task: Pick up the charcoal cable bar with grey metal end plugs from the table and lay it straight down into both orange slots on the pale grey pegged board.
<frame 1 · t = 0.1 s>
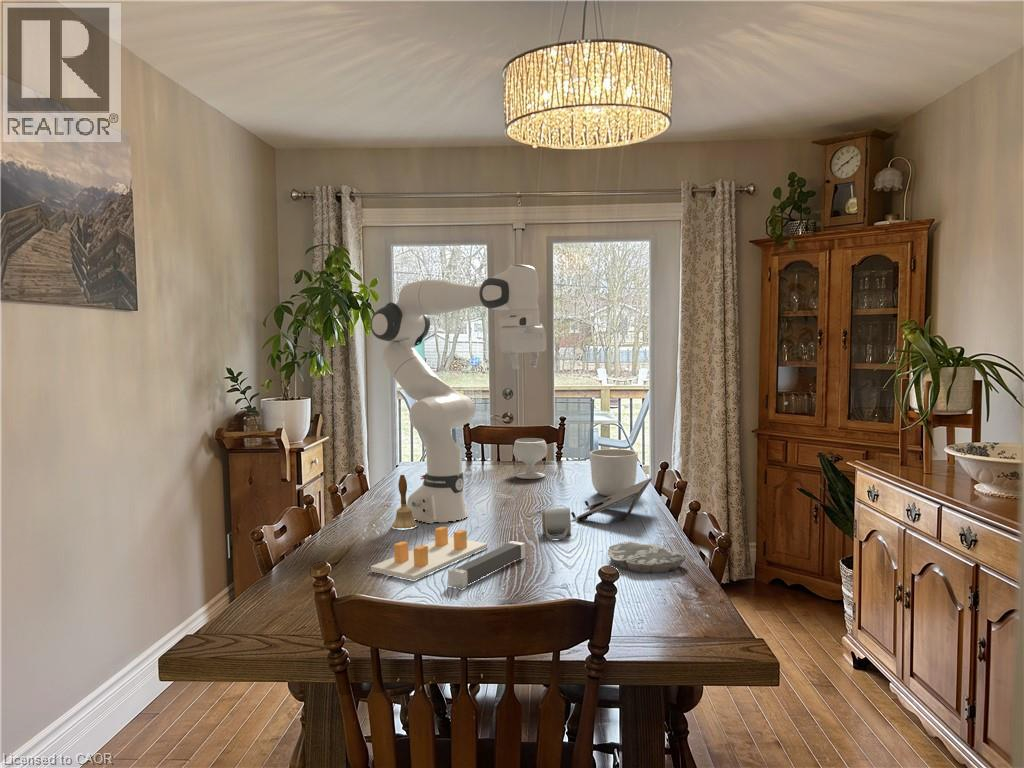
hand: (524, 368, 207), 48 cm above the table, tool pointing down, fingers open, 8 cm apart
portable electronic device stand: (611, 517, 225), on the table
ceramic mug: (557, 536, 205), on the table
pegged board: (432, 560, 184), on the table
hand bell: (404, 527, 217), on the table
brain slice: (642, 566, 178), on the table
planter: (613, 495, 255), on the table
cable bar: (489, 571, 174), on the table
chalice: (530, 477, 290), on the table
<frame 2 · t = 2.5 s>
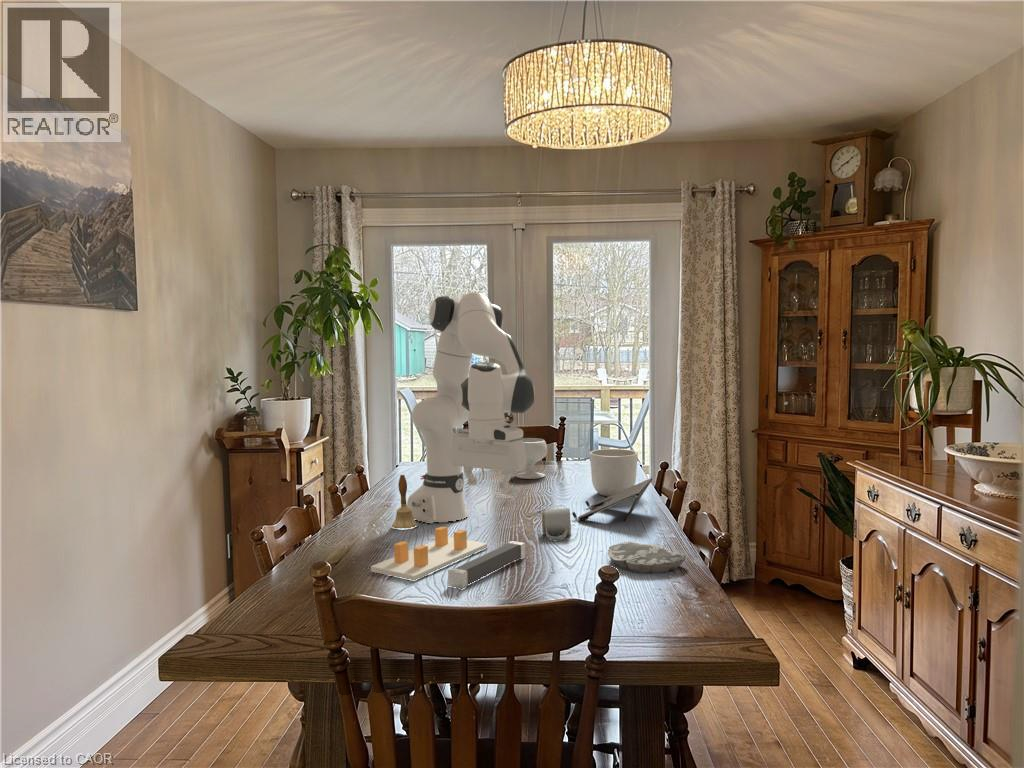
hand: (488, 486, 173), 21 cm above the table, tool pointing down, fingers open, 8 cm apart
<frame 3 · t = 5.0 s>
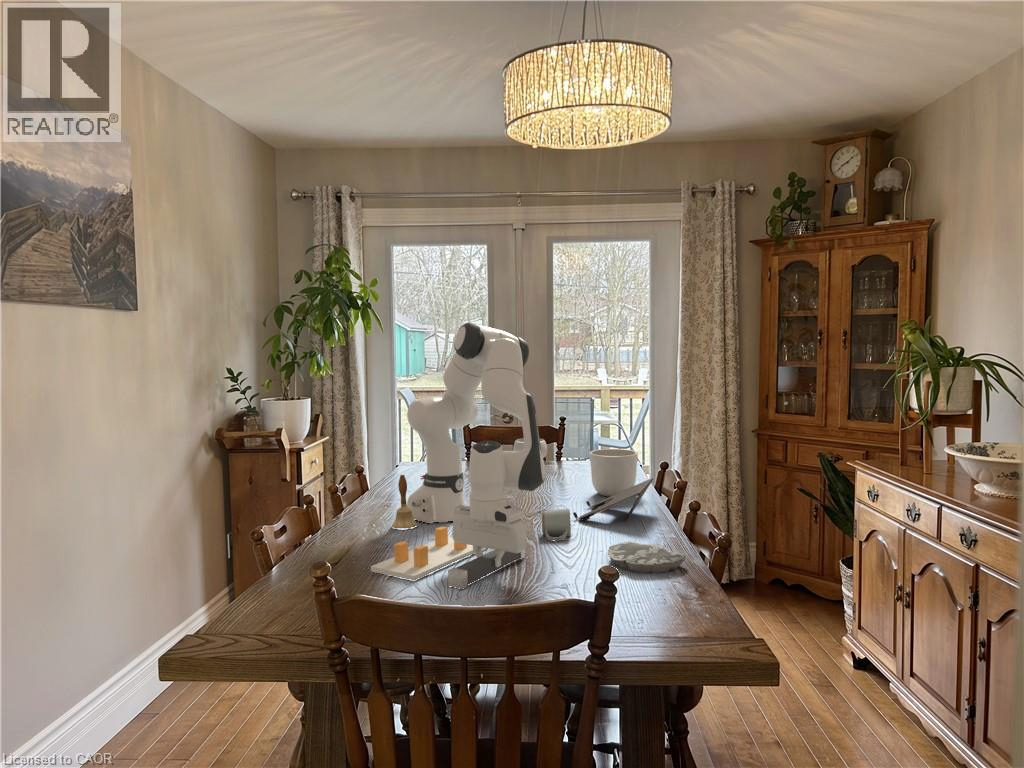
hand: (489, 564, 174), 2 cm above the table, tool pointing down, fingers closed on cable bar, 3 cm apart
cable bar: (489, 571, 174), on the table, touching gripper
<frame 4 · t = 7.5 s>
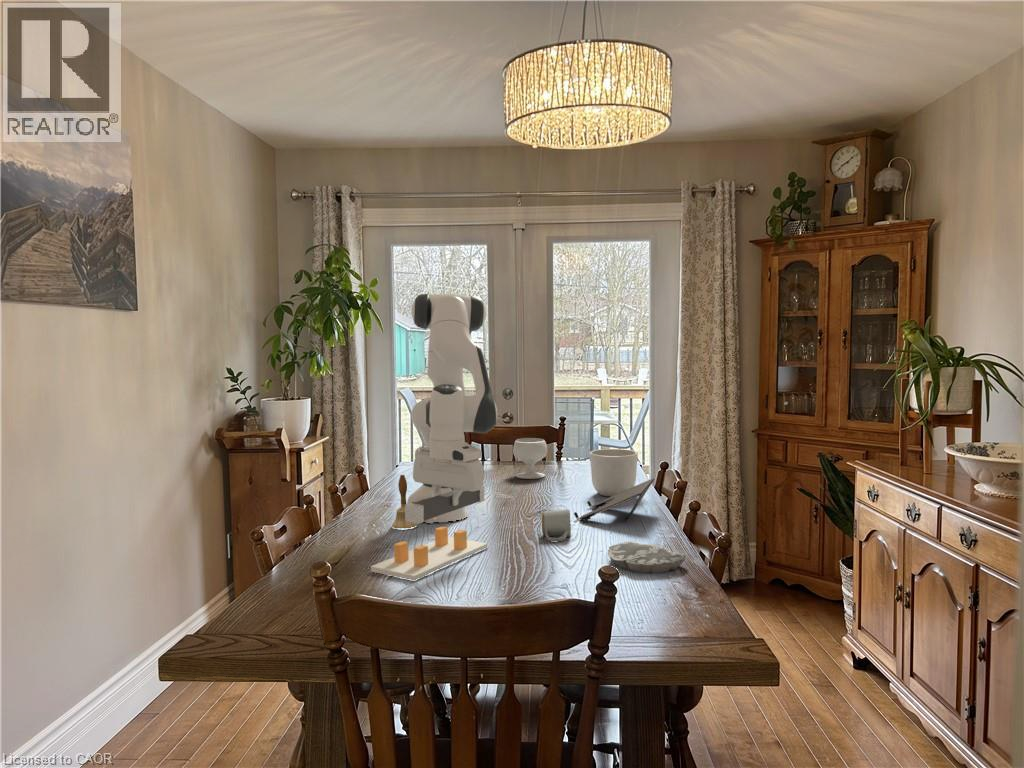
hand: (447, 503, 180), 15 cm above the table, tool pointing down, fingers closed on cable bar, 3 cm apart
cable bar: (446, 510, 180), point 14 cm above the table, touching gripper
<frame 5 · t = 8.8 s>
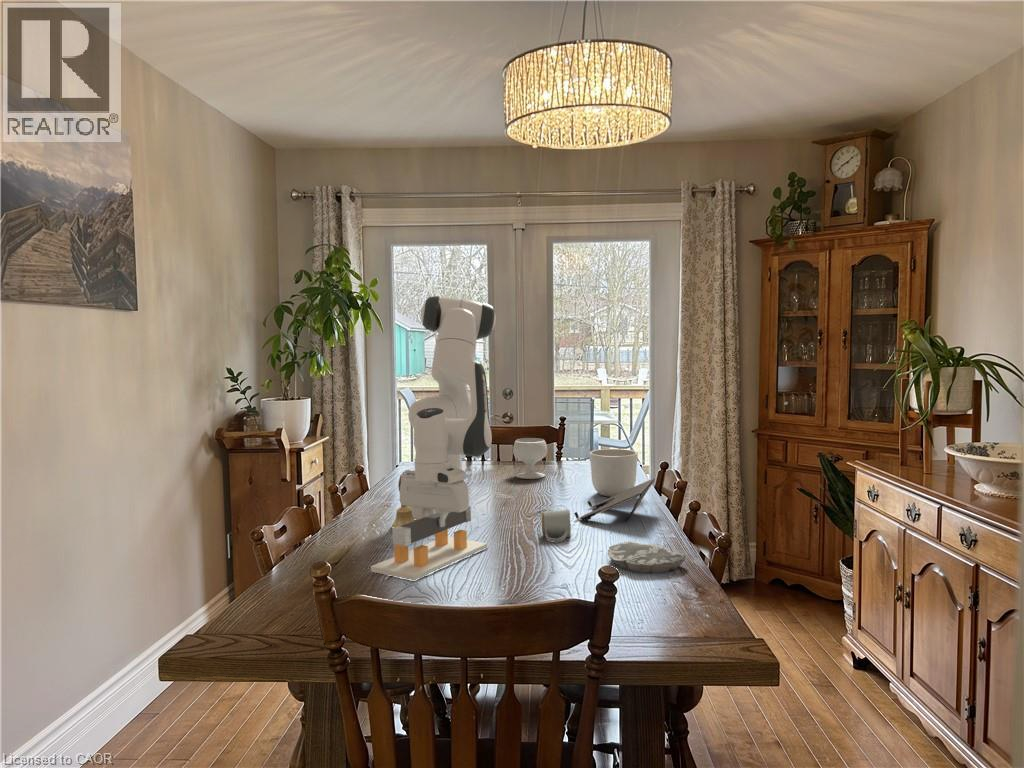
hand: (434, 525, 183), 9 cm above the table, tool pointing down, fingers closed on cable bar, 3 cm apart
cable bar: (434, 531, 183), point 7 cm above the table, touching gripper
when the fingers open (4 cm above the table, at t = 10.1 s): cable bar stays where it is, resting on pegged board.
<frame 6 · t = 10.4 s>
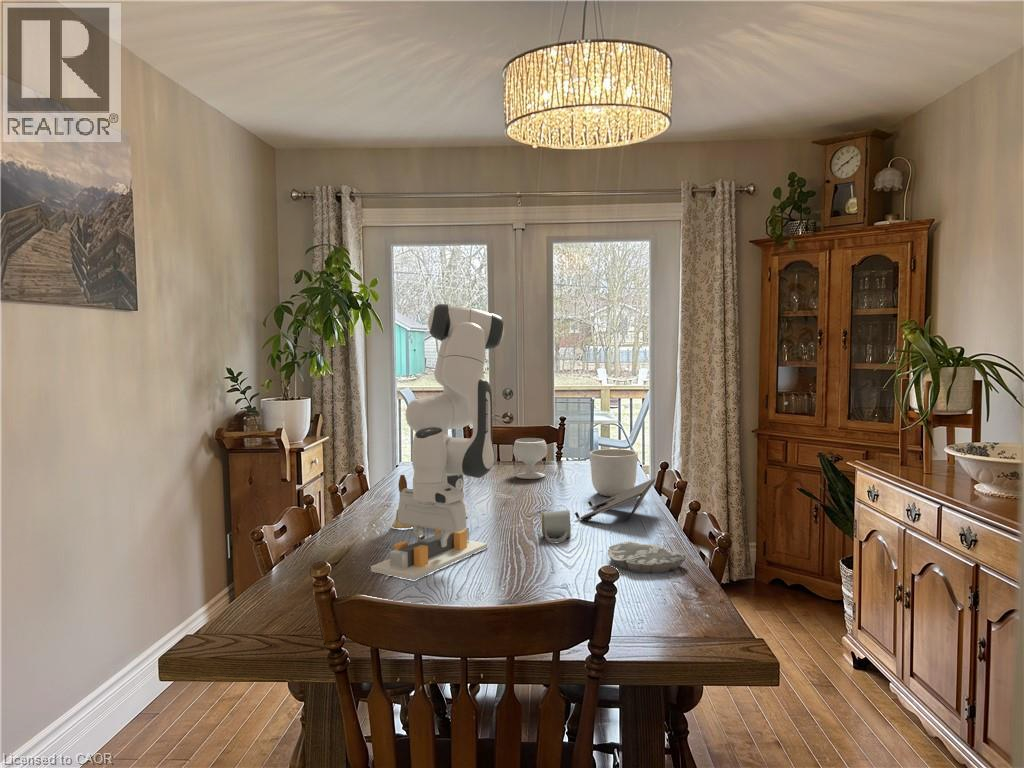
hand: (431, 544, 184), 4 cm above the table, tool pointing down, fingers open, 6 cm apart
cable bar: (431, 554, 184), point 1 cm above the table, touching pegged board
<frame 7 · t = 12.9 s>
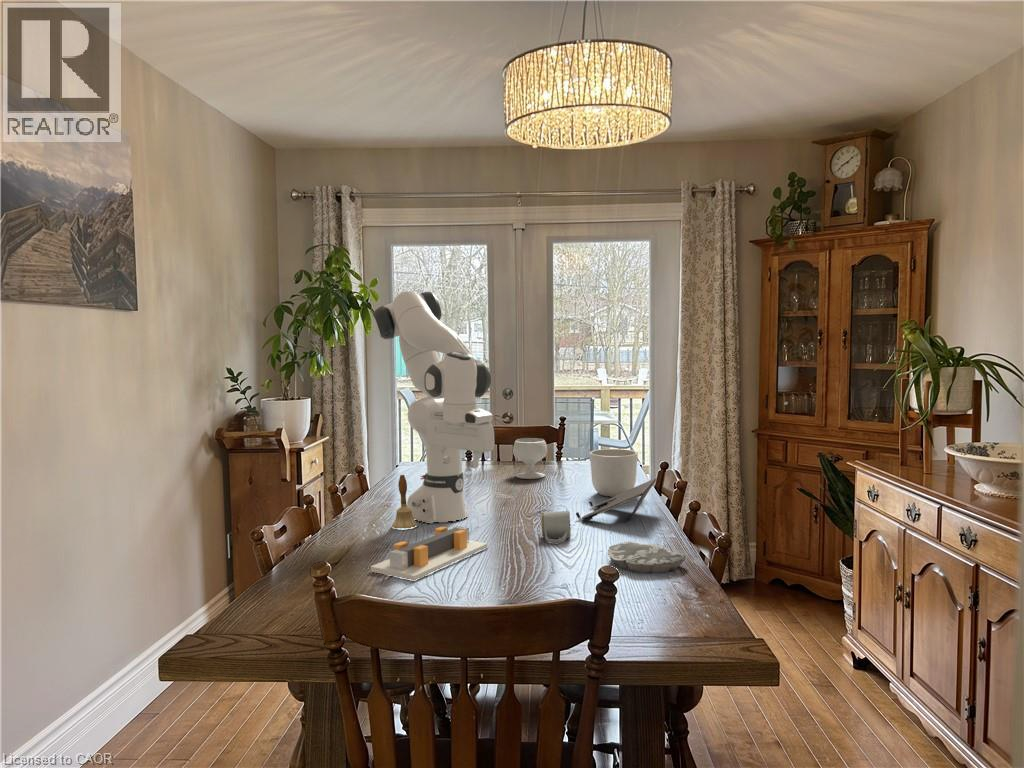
hand: (459, 465, 189), 23 cm above the table, tool pointing down, fingers open, 8 cm apart
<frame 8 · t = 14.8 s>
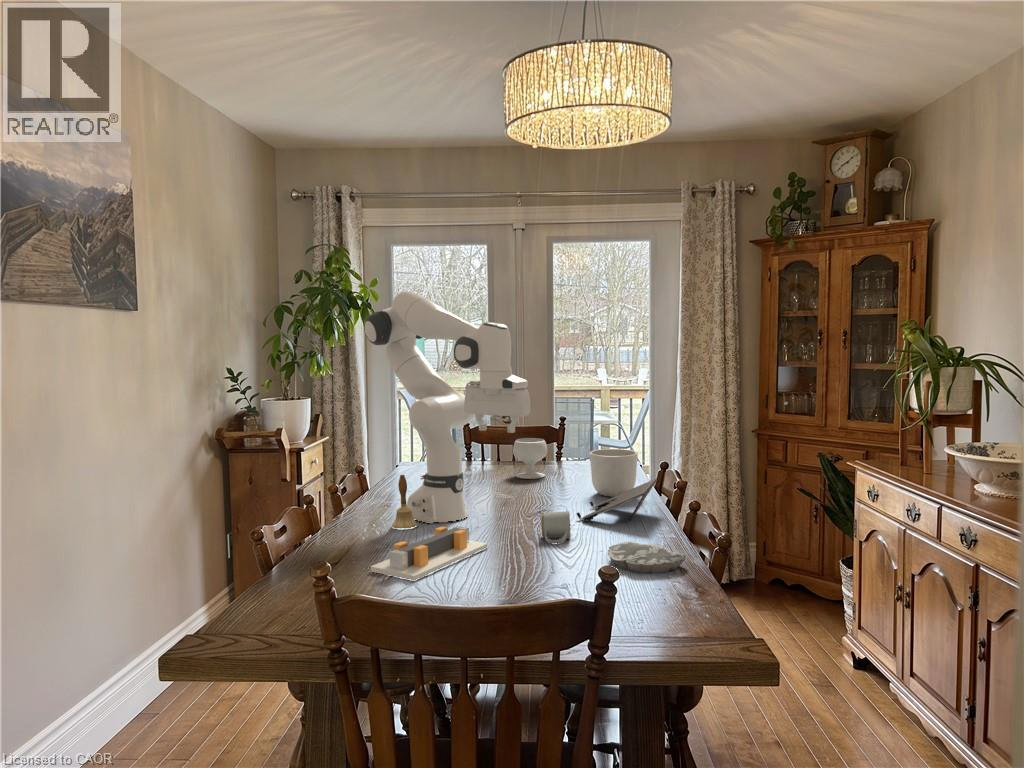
hand: (496, 431, 197), 31 cm above the table, tool pointing down, fingers open, 8 cm apart
at the end: cable bar 0.0 cm off-centre on the pegged board, point 1.5 cm above the pegged board's base; cable bar tilted 0°; the gripper is holding nothing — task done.
